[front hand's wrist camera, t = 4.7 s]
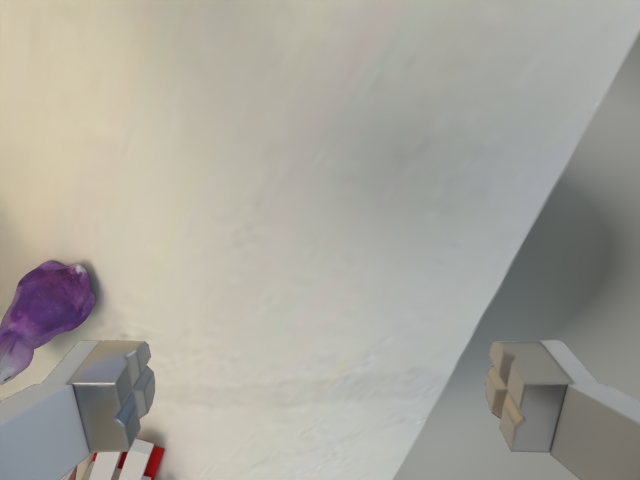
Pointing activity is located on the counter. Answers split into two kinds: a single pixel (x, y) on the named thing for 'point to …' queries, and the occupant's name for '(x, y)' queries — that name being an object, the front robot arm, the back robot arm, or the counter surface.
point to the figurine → (42, 313)
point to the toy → (123, 464)
